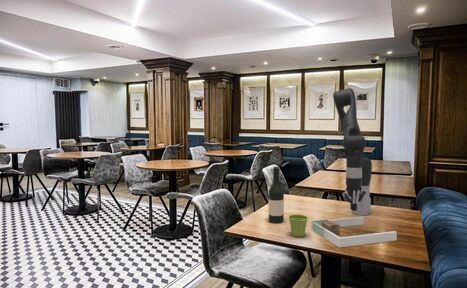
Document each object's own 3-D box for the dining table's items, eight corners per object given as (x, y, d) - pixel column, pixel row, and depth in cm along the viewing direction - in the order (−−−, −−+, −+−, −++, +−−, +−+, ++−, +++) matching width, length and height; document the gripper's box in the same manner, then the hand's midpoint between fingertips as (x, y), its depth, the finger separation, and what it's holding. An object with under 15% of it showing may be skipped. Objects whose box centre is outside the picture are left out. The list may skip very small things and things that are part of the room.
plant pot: (296, 239, 146) (296, 221, 146) (284, 233, 155) (284, 216, 154) (312, 236, 151) (312, 218, 150) (299, 230, 159) (299, 213, 158)
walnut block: (332, 230, 159) (332, 220, 158) (339, 234, 153) (339, 224, 153) (321, 231, 157) (322, 221, 157) (328, 235, 151) (328, 225, 151)
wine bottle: (284, 219, 176) (285, 166, 174) (282, 224, 168) (282, 168, 166) (270, 218, 178) (270, 165, 176) (266, 222, 171) (267, 167, 168)
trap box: (361, 224, 168) (362, 215, 168) (396, 240, 145) (396, 230, 145) (311, 229, 160) (311, 220, 160) (339, 247, 137) (339, 237, 137)
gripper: (359, 173, 161) (359, 207, 163) (337, 175, 157) (337, 210, 159) (370, 176, 154) (370, 211, 155) (347, 178, 150) (347, 214, 152)
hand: (353, 210), depth 157 cm, fingers closed
